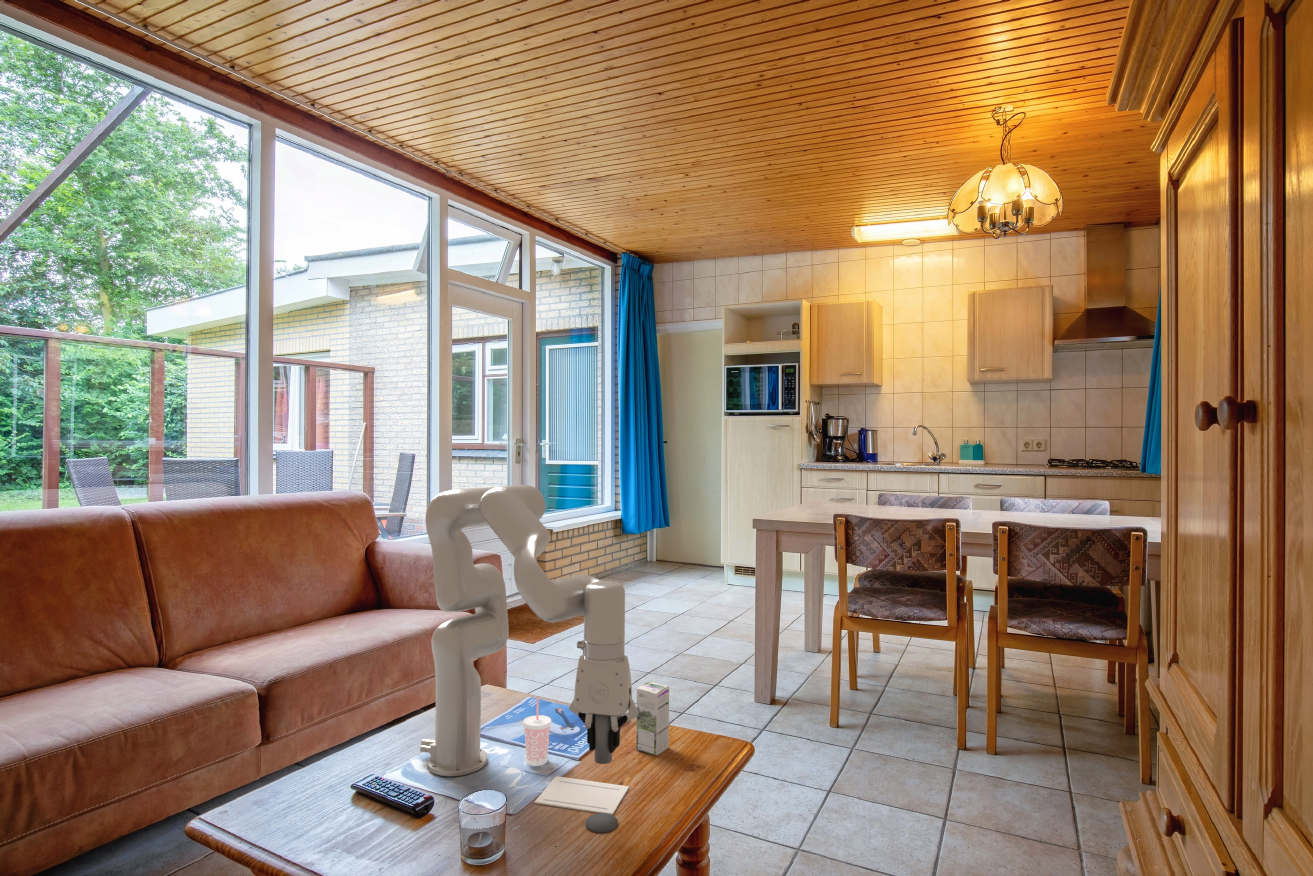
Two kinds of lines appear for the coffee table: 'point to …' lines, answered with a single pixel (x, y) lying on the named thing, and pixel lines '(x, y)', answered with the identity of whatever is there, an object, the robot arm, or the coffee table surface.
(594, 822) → the coaster
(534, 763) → the beverage cup
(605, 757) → the marker
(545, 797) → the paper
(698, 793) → the coffee table surface
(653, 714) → the syrup box
